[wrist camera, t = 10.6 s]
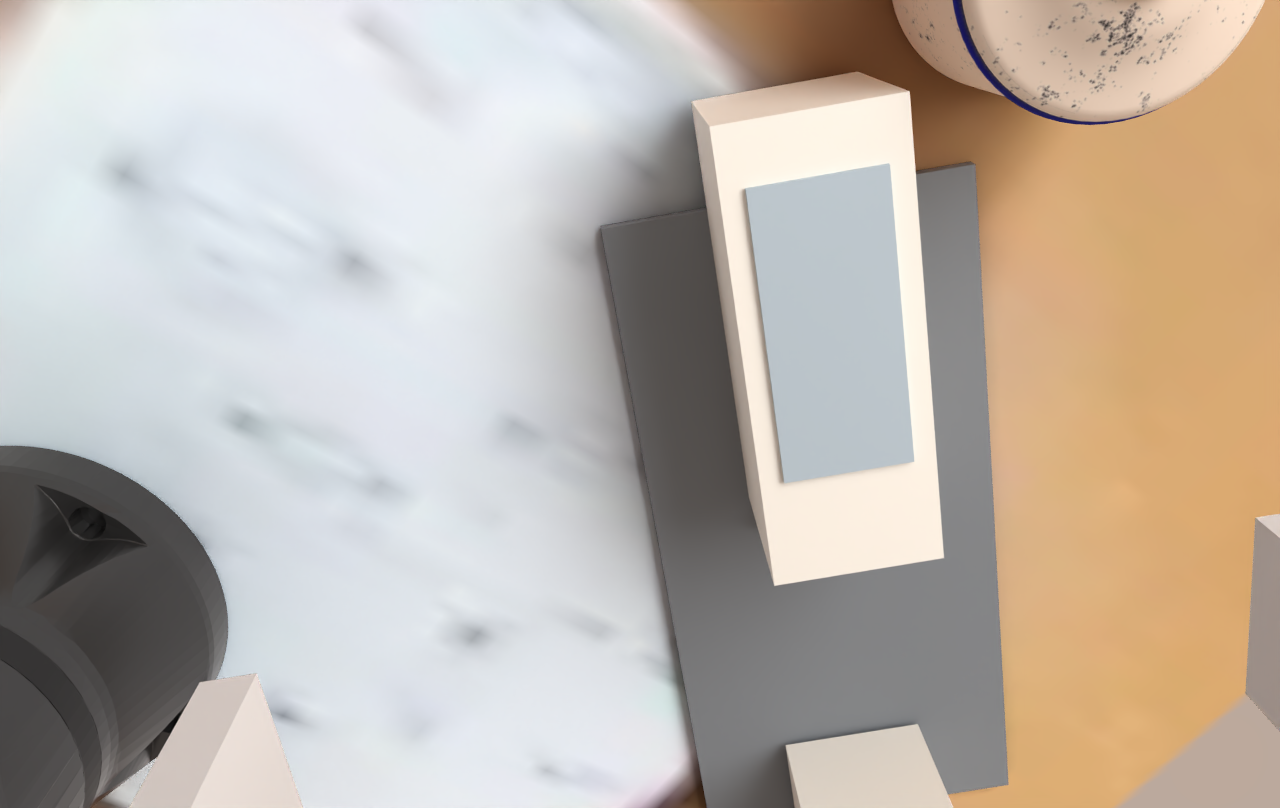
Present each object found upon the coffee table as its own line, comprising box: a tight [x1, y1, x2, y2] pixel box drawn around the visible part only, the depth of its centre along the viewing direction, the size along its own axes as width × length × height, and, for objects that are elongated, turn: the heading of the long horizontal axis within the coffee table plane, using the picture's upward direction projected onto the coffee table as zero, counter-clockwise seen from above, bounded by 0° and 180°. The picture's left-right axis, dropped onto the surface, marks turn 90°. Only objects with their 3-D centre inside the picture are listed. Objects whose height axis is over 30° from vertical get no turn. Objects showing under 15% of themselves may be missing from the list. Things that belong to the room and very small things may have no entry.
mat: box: [601, 162, 1008, 808], centre depth 46 cm, size 14×29×1 cm, turn 10°
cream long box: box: [691, 72, 944, 586], centre depth 39 cm, size 6×17×7 cm, turn 10°
